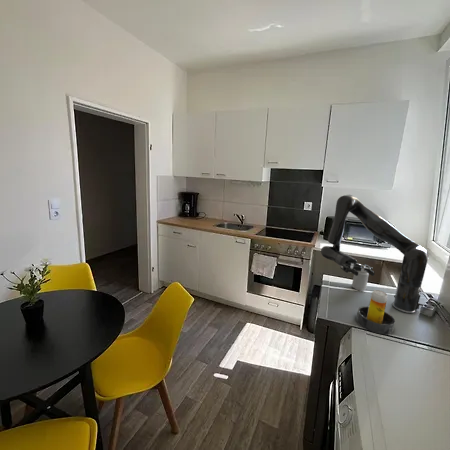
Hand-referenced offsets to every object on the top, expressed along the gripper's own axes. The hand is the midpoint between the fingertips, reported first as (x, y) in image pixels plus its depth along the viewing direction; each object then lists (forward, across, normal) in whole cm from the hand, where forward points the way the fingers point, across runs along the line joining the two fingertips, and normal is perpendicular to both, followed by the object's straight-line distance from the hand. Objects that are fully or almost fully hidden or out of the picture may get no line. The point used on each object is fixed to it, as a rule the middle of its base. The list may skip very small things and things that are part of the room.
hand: (365, 274), depth 119 cm
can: (-23, +16, +20) cm, 34 cm away
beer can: (+11, 0, +19) cm, 22 cm away
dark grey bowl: (+11, 0, +20) cm, 23 cm away
